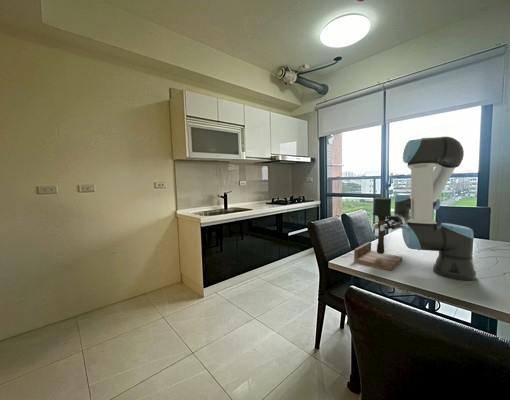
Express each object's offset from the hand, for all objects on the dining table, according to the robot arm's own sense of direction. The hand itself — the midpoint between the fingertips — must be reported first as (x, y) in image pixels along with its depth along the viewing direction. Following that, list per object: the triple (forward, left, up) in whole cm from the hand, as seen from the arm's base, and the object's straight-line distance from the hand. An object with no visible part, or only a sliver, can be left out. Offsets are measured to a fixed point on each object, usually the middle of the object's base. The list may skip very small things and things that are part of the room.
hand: (377, 227), depth 119 cm
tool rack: (+4, -4, -20) cm, 20 cm away
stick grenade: (+3, -5, -15) cm, 16 cm away
